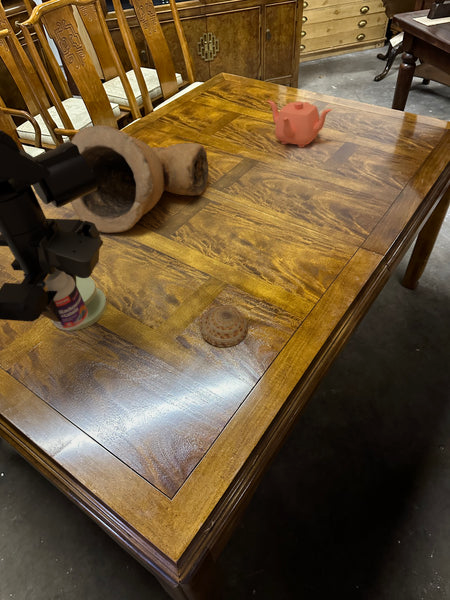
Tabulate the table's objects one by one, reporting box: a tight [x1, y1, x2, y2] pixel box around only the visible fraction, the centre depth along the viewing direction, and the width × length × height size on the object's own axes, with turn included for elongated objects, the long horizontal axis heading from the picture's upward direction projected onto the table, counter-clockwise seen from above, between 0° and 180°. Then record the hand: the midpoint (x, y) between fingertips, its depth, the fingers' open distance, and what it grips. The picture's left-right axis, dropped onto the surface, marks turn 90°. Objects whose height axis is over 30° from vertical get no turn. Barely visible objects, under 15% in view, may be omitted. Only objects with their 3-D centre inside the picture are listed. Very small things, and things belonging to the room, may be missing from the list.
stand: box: [49, 276, 108, 332], centre depth 80 cm, size 11×11×5 cm
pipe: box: [69, 124, 209, 234], centre depth 103 cm, size 23×29×30 cm
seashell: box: [199, 304, 248, 348], centre depth 74 cm, size 8×6×8 cm
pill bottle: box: [45, 268, 88, 331], centre depth 62 cm, size 5×5×10 cm
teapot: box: [267, 100, 333, 148], centre depth 121 cm, size 14×14×11 cm
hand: (65, 307), depth 64 cm, fingers closed on pill bottle, 5 cm apart
